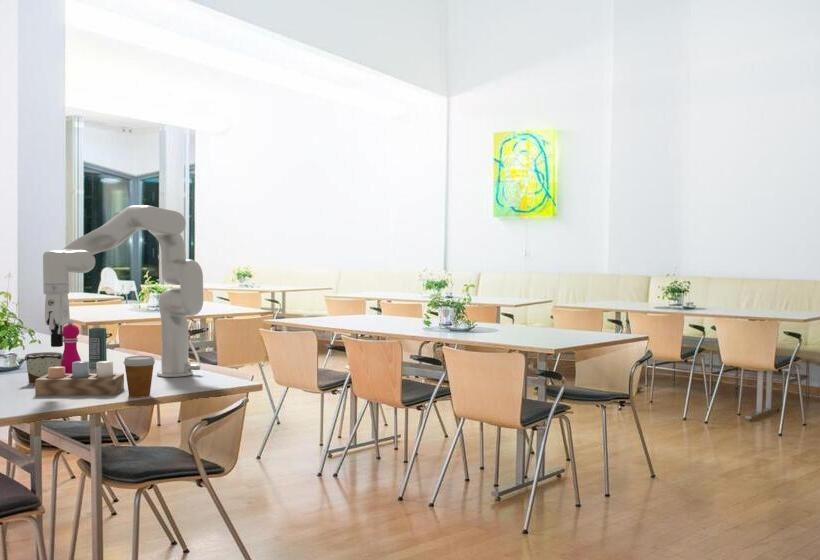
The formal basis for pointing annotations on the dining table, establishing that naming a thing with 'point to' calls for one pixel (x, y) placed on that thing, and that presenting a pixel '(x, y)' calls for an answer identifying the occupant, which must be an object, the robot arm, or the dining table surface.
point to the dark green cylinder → (97, 346)
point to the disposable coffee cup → (139, 375)
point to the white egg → (104, 369)
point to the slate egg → (80, 369)
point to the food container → (41, 364)
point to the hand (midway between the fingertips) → (56, 346)
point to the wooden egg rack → (79, 385)
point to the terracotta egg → (56, 372)
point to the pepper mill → (70, 347)
